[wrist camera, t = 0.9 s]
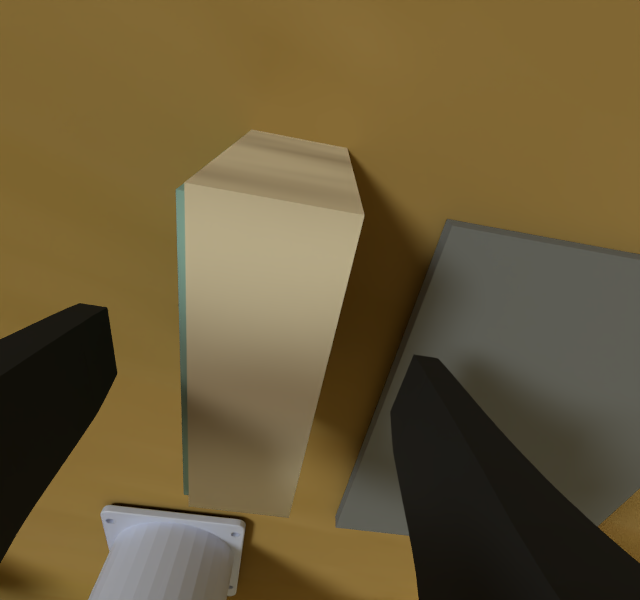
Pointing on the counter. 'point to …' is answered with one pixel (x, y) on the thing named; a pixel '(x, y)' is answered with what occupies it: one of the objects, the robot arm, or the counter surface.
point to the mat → (523, 365)
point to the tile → (259, 312)
